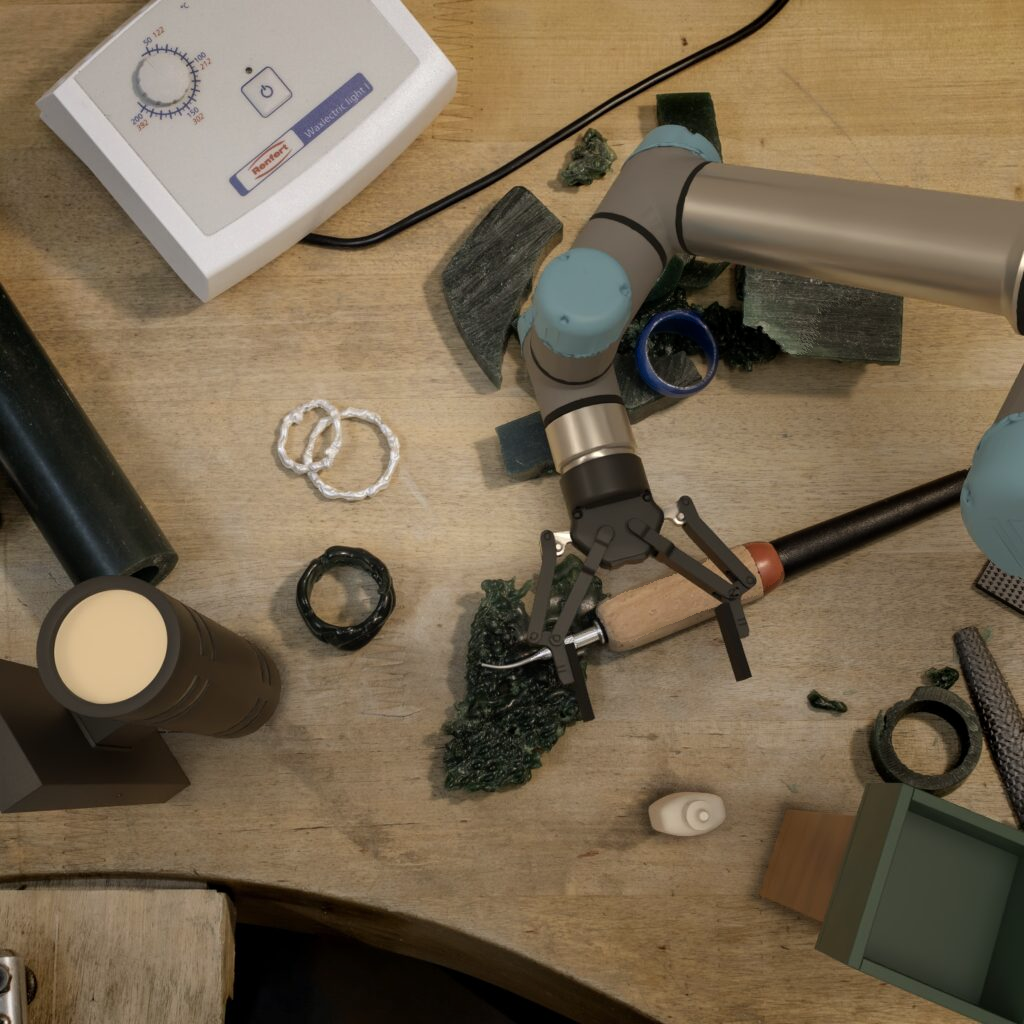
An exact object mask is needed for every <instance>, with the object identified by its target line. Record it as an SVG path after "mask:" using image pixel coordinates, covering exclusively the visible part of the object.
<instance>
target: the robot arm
mask: <svg viewBox="0 0 1024 1024" xmlns="http://www.w3.org/2000/svg"><path fill="white" fill-rule="evenodd" d="M675 254H682V255H689V256H692V257H696V258H697V257H698V258H706V259H710V260H715V261H721V262H724V263H725V262H726V263H730V264H735V265H740V266H746V267H751V268H756V269H761V270H765V271H772V272H776V273H781V274H786V275H791V276H796V277H802V278H806V279H812V280H817V281H821V282H827V283H833V284H836V285H837V284H838V285H841V286H842V285H843V286H846V287H847V286H848V287H852V288H857V289H862V290H867V291H873V292H878V293H882V294H883V293H884V294H888V295H893V296H898V297H903V298H909V299H912V300H918V301H924V302H928V303H933V304H938V305H944V306H949V307H953V308H959V309H964V310H969V311H973V312H974V311H975V312H979V313H983V314H984V313H985V314H990V315H994V316H998V317H1004V318H1005V319H1006V321H1007V322H1008V324H1009V326H1010V327H1011V328H1012V331H1014V334H1016V335H1017V336H1021V337H1024V200H1017V199H1016V200H1015V199H1009V198H999V197H993V196H985V195H975V194H968V193H961V192H953V191H945V190H936V189H929V188H923V187H922V188H921V187H914V186H904V185H897V184H889V183H881V182H874V181H865V180H858V179H851V178H844V177H843V178H841V177H833V176H825V175H818V174H811V173H804V172H803V173H802V172H795V171H787V170H779V169H772V168H763V167H755V166H748V165H740V164H732V163H726V162H725V163H724V162H722V159H721V156H720V154H719V153H718V150H717V149H716V147H715V146H714V145H713V143H711V142H710V141H709V140H708V139H707V138H706V137H704V136H703V135H702V134H700V133H699V132H696V133H692V132H691V131H689V129H688V128H687V127H686V126H683V125H678V124H664V125H660V126H657V127H655V128H653V129H652V130H650V131H649V132H648V133H647V134H646V135H645V136H644V138H643V139H642V140H641V142H640V143H639V144H638V145H637V147H636V148H635V149H634V150H633V152H632V153H631V154H629V156H628V157H627V158H626V159H625V161H624V163H623V164H622V166H621V168H620V170H619V173H618V174H617V176H616V178H615V179H614V181H613V182H612V184H611V185H610V187H609V188H608V190H607V191H606V193H605V195H604V196H603V198H602V200H601V201H600V202H599V204H598V206H597V207H596V209H595V211H594V212H593V214H592V215H591V216H590V217H589V220H587V222H586V223H585V225H584V226H583V227H582V228H581V231H580V232H579V234H578V235H577V237H576V238H575V239H574V241H573V243H571V246H570V247H569V249H568V250H567V251H565V252H563V253H561V254H559V255H557V256H554V257H553V259H551V260H550V261H549V262H548V263H547V264H546V266H545V267H544V268H543V269H542V271H541V273H540V276H539V278H538V280H537V284H536V286H535V288H534V292H533V295H532V299H533V300H532V303H531V305H529V306H528V307H527V309H526V311H525V312H523V313H522V314H521V315H520V316H519V317H518V320H517V326H516V327H517V329H516V330H517V334H518V338H519V342H520V347H521V349H520V354H521V358H522V360H523V362H524V363H525V366H526V368H527V372H528V376H529V379H530V382H531V386H532V389H533V393H534V395H535V398H536V402H537V406H538V409H539V413H540V416H541V419H542V422H543V423H542V424H543V427H544V431H545V434H546V438H547V442H548V446H549V449H550V453H551V457H552V460H553V464H554V468H555V471H556V472H557V473H558V474H560V475H561V477H560V479H559V486H560V490H561V493H562V496H563V497H562V498H563V500H564V504H565V507H566V510H567V514H568V515H567V516H568V518H569V522H570V527H569V530H561V531H555V532H554V531H552V530H550V529H545V530H543V531H541V533H540V537H539V541H538V543H539V544H538V545H539V551H540V556H541V557H540V558H541V566H540V571H539V575H538V578H537V579H538V580H537V585H536V590H535V594H534V599H533V604H532V609H531V613H530V618H529V622H528V628H527V633H526V637H525V641H526V644H527V645H528V646H529V647H531V648H535V647H536V648H537V647H538V648H545V649H547V650H548V651H549V652H550V654H551V657H552V660H553V663H554V664H553V665H554V669H555V671H556V676H557V678H558V682H559V683H560V685H561V686H562V687H564V686H567V685H573V689H574V693H575V696H576V700H577V704H578V707H579V711H580V715H581V719H582V723H587V722H592V721H594V720H595V719H596V717H595V713H594V709H593V706H592V703H591V698H590V695H589V691H588V688H587V684H586V680H585V676H584V673H583V669H582V666H581V662H580V658H579V654H578V651H577V648H576V644H575V641H573V642H569V643H565V642H566V641H565V639H566V637H567V634H568V632H569V630H570V628H571V626H572V624H573V622H574V620H575V617H576V615H577V613H578V611H579V609H580V607H581V605H582V603H583V600H584V598H585V596H586V594H587V592H588V590H589V588H590V586H591V584H592V582H593V579H594V577H595V575H596V572H597V571H598V568H600V569H602V570H607V571H609V572H612V571H616V570H619V569H621V568H622V567H624V566H628V565H631V566H632V565H639V564H643V563H644V562H645V561H646V560H647V559H649V558H650V557H651V558H652V559H654V560H655V561H657V562H658V563H661V564H664V565H665V566H666V567H668V568H669V569H671V570H673V571H674V572H676V573H677V574H678V575H680V576H682V577H683V578H684V579H686V580H688V581H689V582H690V583H691V584H693V585H695V586H696V587H697V588H699V589H701V590H702V591H703V592H705V593H706V594H708V595H709V596H711V597H712V598H713V599H715V600H717V601H718V602H720V603H719V604H718V605H717V606H716V607H715V608H713V611H714V615H715V618H716V620H717V624H718V627H719V630H720V634H721V637H722V640H723V644H724V647H725V649H726V650H725V651H726V653H727V657H728V659H729V660H728V661H729V663H730V666H731V669H732V673H733V676H734V680H735V681H736V683H738V682H741V681H745V680H748V679H751V678H753V675H752V672H751V668H750V665H749V662H748V659H747V655H746V652H745V650H744V646H743V643H742V639H746V638H748V637H749V636H750V628H749V625H748V621H747V618H746V615H745V611H744V608H743V605H742V601H741V600H742V597H743V595H745V594H746V593H747V592H748V591H750V590H752V588H754V587H755V586H756V585H757V583H758V582H757V581H758V580H757V577H756V576H755V575H754V573H753V572H752V571H751V570H750V569H749V568H748V567H747V566H746V564H744V563H743V561H742V560H741V559H739V558H738V556H737V555H736V554H735V553H734V552H733V551H732V550H731V549H730V548H729V547H728V546H727V544H726V543H725V542H724V541H723V540H722V539H721V538H720V537H719V536H718V535H717V534H716V533H715V532H714V531H713V530H712V529H711V528H710V527H709V525H707V523H706V521H704V520H703V519H702V518H701V516H700V515H699V513H698V511H697V508H696V506H695V504H694V501H693V499H692V498H691V496H689V495H682V496H680V497H679V499H677V501H674V502H671V503H669V504H667V505H663V506H659V504H658V503H657V502H656V501H655V499H654V497H653V494H652V490H651V486H650V483H649V480H648V476H647V473H646V470H645V467H644V463H643V460H642V458H641V457H640V456H639V455H638V454H636V452H637V449H638V444H637V440H636V438H635V435H634V431H633V427H632V424H631V421H630V418H629V415H628V412H627V409H626V404H625V402H624V399H623V397H622V392H621V389H620V386H619V385H620V384H619V382H618V378H617V375H616V371H615V368H614V367H615V366H614V361H615V359H616V356H617V354H618V353H617V352H618V349H619V345H620V343H621V340H622V338H623V336H624V334H625V333H626V331H627V329H628V327H629V326H630V324H631V323H632V321H633V319H634V318H635V316H636V315H637V313H638V311H639V310H640V309H641V307H642V305H643V303H644V302H645V300H646V298H647V297H648V296H649V294H650V292H651V291H652V289H653V287H654V285H655V284H656V283H657V281H658V279H659V277H661V275H662V273H663V272H664V270H665V269H666V267H667V266H668V264H669V263H670V261H671V259H672V258H673V257H674V255H675ZM971 459H972V460H971V466H970V469H969V471H968V472H967V475H966V477H965V479H964V482H963V484H962V487H961V492H960V499H959V507H960V515H961V519H962V522H963V525H964V527H965V529H966V531H967V533H968V535H969V537H970V538H971V540H972V541H973V543H974V544H975V545H976V547H977V548H978V549H979V551H980V552H981V553H982V554H983V555H984V556H985V557H986V558H987V559H988V560H989V561H990V562H991V563H992V564H993V565H995V567H997V568H998V569H999V570H1001V571H1002V572H1004V573H1005V574H1006V575H1007V576H1010V577H1012V576H1014V577H1015V576H1016V577H1019V578H1020V579H1021V580H1023V581H1024V363H1023V364H1022V365H1021V367H1020V369H1019V372H1018V373H1017V375H1016V377H1015V379H1014V381H1013V383H1012V385H1011V387H1010V389H1009V392H1008V394H1007V395H1006V396H1005V399H1004V401H1003V403H1002V405H1001V407H1000V409H999V411H998V413H997V415H996V416H995V419H994V421H993V423H992V425H991V426H990V427H989V428H988V429H987V430H986V431H985V432H984V433H983V434H982V436H981V438H980V439H979V441H978V442H977V445H976V447H975V448H974V452H973V455H972V458H971ZM665 521H669V522H671V523H672V525H673V526H675V527H677V528H681V529H682V530H683V532H684V533H685V534H686V536H687V537H688V538H689V539H690V540H691V541H692V542H693V544H695V545H696V546H697V547H698V549H699V550H701V552H702V553H703V554H704V555H705V556H706V557H707V558H708V560H710V561H711V562H712V564H714V566H715V567H716V568H717V569H718V570H719V572H721V574H723V576H724V577H726V578H727V579H728V580H726V579H725V578H723V577H722V576H720V575H718V574H717V573H716V572H714V571H713V570H711V569H710V568H708V567H707V566H705V565H703V564H702V563H701V562H700V561H698V560H697V559H695V558H693V556H691V555H689V554H688V553H686V552H685V551H683V550H682V549H680V548H678V547H677V546H676V545H675V544H674V543H673V541H671V540H669V538H666V537H665V536H664V535H662V534H661V533H660V532H661V530H662V527H663V525H664V522H665ZM570 544H571V546H572V547H573V548H575V549H576V550H577V551H578V552H580V553H581V554H582V555H584V556H585V557H586V559H585V561H584V563H583V565H582V566H581V569H580V571H579V574H578V576H577V578H576V580H575V581H574V584H573V587H572V589H571V590H570V593H569V595H568V597H567V598H566V601H565V603H564V605H563V607H562V609H561V611H560V614H559V616H558V617H557V620H556V622H555V624H554V626H553V629H552V630H551V631H550V630H544V626H545V620H546V616H547V611H548V606H549V602H550V597H551V592H552V587H553V582H554V578H555V577H554V576H555V572H556V567H557V559H558V558H561V557H562V556H563V555H564V553H565V550H566V546H568V545H570Z"/></svg>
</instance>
